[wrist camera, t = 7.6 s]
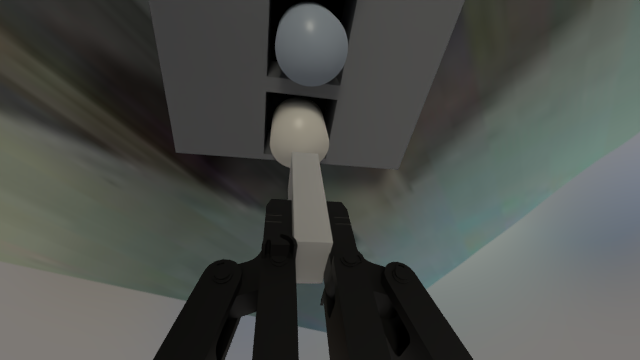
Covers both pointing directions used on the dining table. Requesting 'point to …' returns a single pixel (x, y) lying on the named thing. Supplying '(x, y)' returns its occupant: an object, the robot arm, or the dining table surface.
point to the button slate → (310, 44)
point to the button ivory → (298, 130)
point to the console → (266, 76)
